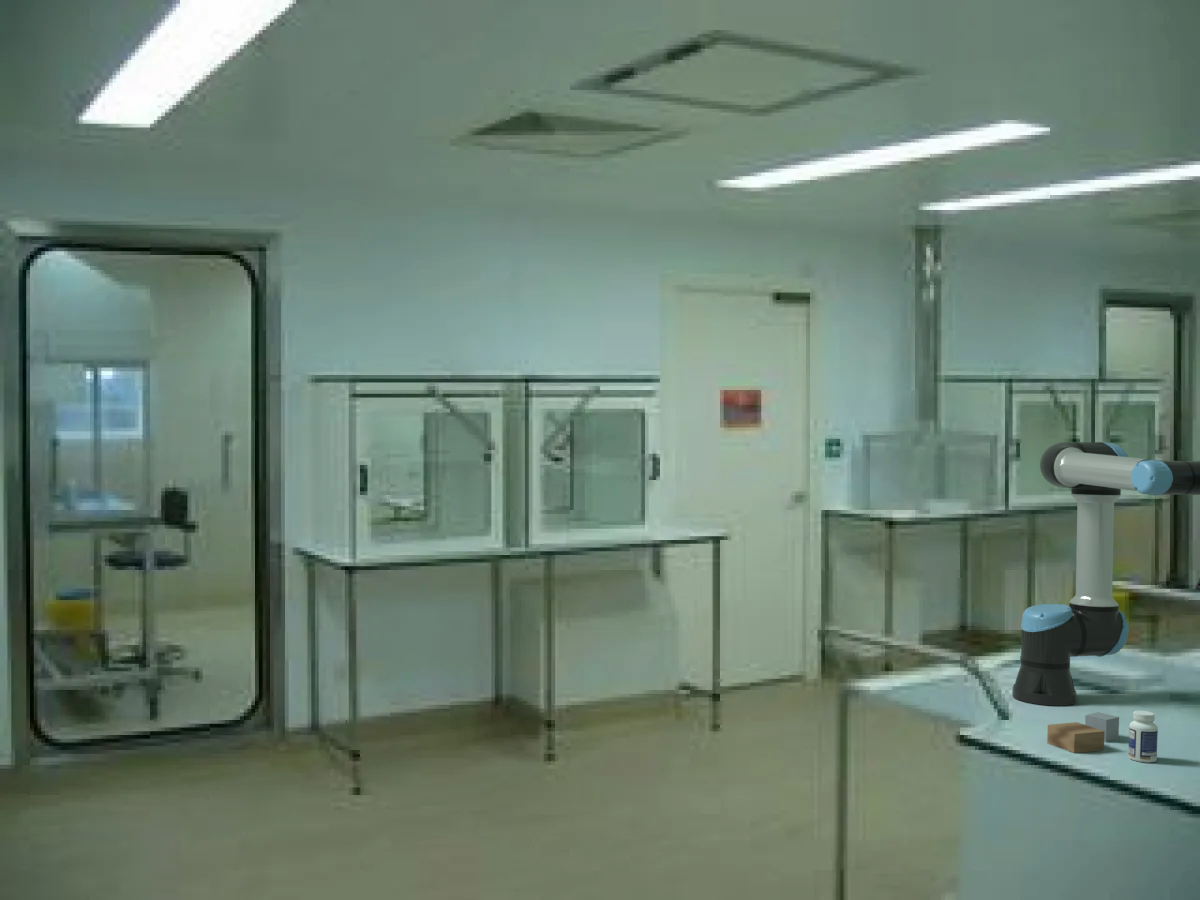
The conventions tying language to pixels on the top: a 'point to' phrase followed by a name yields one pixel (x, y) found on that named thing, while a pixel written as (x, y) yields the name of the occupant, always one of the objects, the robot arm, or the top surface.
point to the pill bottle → (1143, 737)
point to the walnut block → (1075, 737)
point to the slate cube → (1104, 724)
